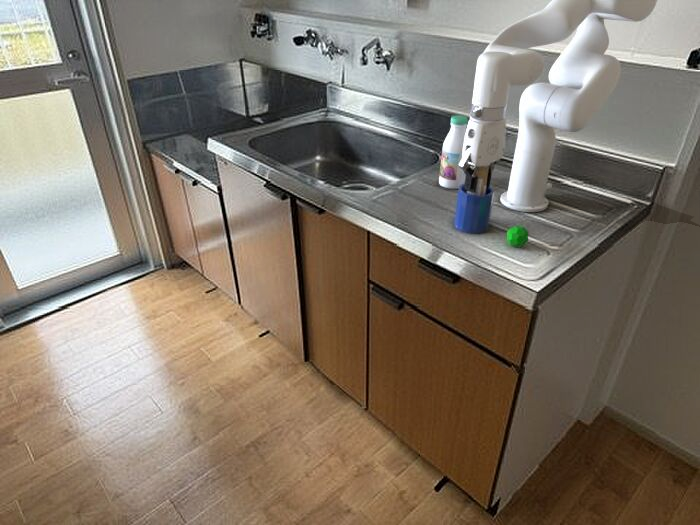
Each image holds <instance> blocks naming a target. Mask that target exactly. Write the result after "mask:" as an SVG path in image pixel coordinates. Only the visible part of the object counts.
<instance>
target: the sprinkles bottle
mask: <svg viewBox="0 0 700 525" xmlns="http://www.w3.org/2000/svg"><path fill="white" fill-rule="evenodd" d="M489 166H490V163H489V164H486V165H483V166H480V167H479V168H478V172H477V175H476V177H478V180H477V187H476V192H475V193H472V192H469V191H467V193H468V194H472V195H485V192H486V184H487V176H488V170H489ZM471 168H472V170H473V168H474V166H472V165H471Z"/></svg>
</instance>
